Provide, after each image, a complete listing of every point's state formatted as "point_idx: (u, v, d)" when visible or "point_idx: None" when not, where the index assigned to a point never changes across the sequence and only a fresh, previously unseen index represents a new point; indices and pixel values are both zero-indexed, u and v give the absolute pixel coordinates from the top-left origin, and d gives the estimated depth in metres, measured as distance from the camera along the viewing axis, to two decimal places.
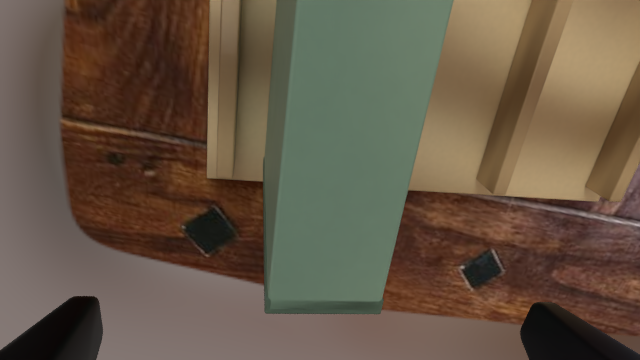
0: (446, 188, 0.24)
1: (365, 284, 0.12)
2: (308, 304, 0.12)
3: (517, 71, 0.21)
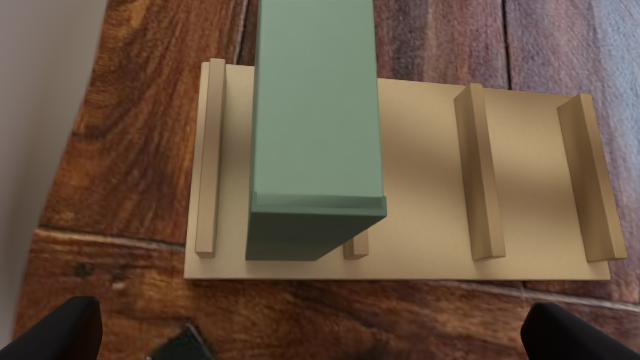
0: (445, 273, 0.22)
1: (360, 173, 0.11)
2: (300, 198, 0.11)
3: (465, 148, 0.24)
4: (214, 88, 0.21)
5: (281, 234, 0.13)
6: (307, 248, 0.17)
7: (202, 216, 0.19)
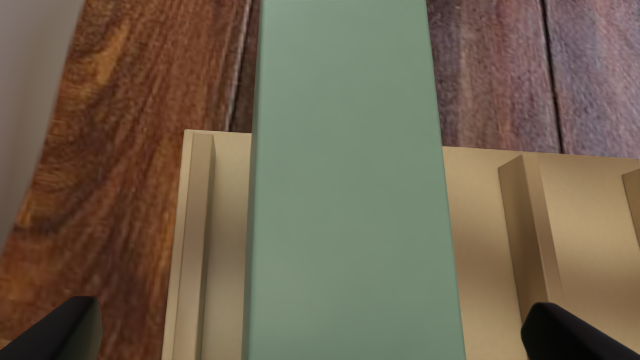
0: None
1: None
2: None
3: (517, 235, 0.19)
4: (198, 173, 0.16)
5: None
6: None
7: (178, 358, 0.14)
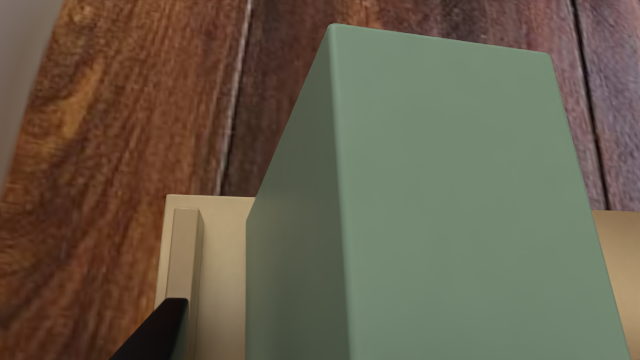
0: None
1: None
2: None
3: None
4: (180, 261, 0.13)
5: None
6: None
7: None
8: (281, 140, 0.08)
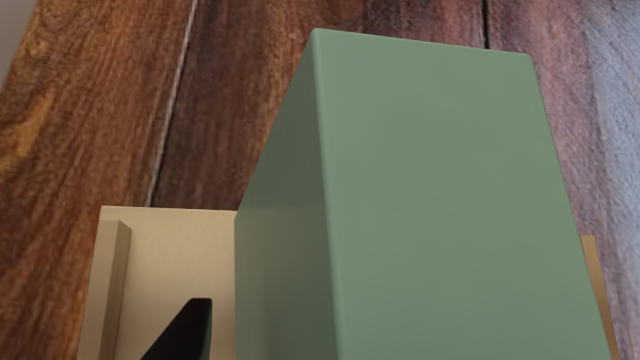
0: None
1: None
2: None
3: None
4: (100, 263, 0.16)
5: None
6: None
7: None
8: (267, 142, 0.08)
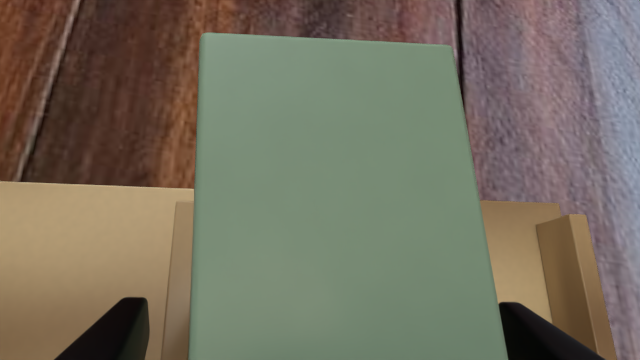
0: None
1: None
2: None
3: None
4: None
5: None
6: None
7: None
8: None
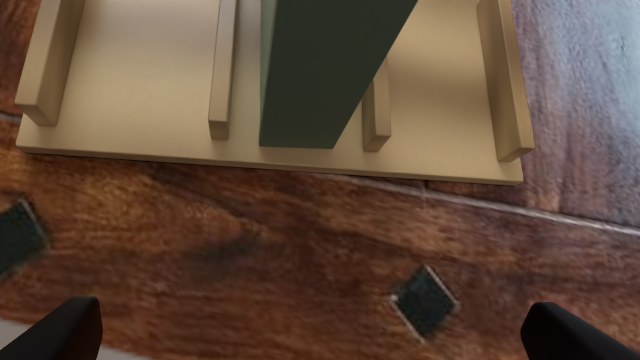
0: (330, 162, 0.20)
1: None
2: None
3: None
4: None
5: (307, 47, 0.12)
6: (329, 101, 0.15)
7: (29, 67, 0.17)
8: None
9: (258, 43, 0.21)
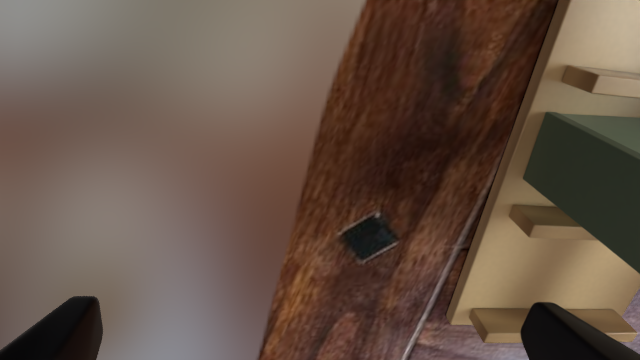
0: (510, 175, 0.21)
1: None
2: None
3: None
4: None
5: None
6: (597, 206, 0.16)
7: None
8: None
9: None
